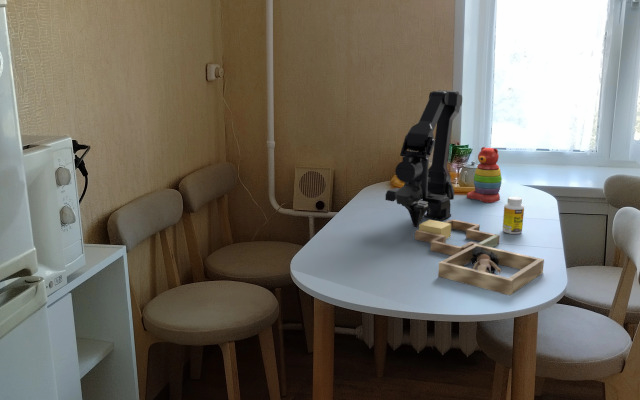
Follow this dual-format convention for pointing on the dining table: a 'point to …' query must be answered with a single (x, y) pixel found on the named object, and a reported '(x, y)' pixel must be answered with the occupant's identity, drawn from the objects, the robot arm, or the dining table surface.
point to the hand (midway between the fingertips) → (416, 227)
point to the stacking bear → (487, 177)
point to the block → (436, 227)
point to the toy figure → (484, 260)
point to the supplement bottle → (513, 215)
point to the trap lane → (470, 228)
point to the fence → (457, 272)
